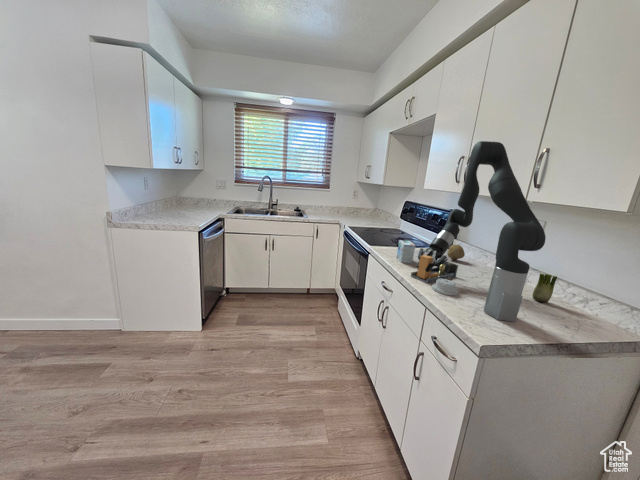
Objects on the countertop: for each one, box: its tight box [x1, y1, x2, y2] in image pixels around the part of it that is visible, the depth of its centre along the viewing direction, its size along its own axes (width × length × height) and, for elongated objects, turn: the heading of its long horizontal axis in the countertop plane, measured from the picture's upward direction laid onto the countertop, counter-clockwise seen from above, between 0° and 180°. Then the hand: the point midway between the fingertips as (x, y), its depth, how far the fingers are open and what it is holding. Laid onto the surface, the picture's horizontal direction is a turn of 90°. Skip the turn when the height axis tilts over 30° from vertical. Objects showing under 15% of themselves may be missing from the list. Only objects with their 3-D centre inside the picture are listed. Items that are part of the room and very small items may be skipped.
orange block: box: [417, 254, 439, 279], centre depth 121 cm, size 9×6×10 cm
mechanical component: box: [431, 278, 459, 296], centre depth 109 cm, size 10×4×10 cm
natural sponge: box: [447, 244, 465, 261], centre depth 156 cm, size 9×9×10 cm
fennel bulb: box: [532, 273, 558, 304], centre depth 105 cm, size 6×5×12 cm
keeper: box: [439, 260, 459, 278], centre depth 129 cm, size 6×10×6 cm
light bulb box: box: [395, 239, 416, 265], centre depth 147 cm, size 11×7×11 cm, turn 178°
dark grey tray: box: [410, 266, 455, 284], centre depth 125 cm, size 23×9×2 cm, turn 124°
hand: (422, 269), depth 118 cm, fingers closed on orange block, 4 cm apart
